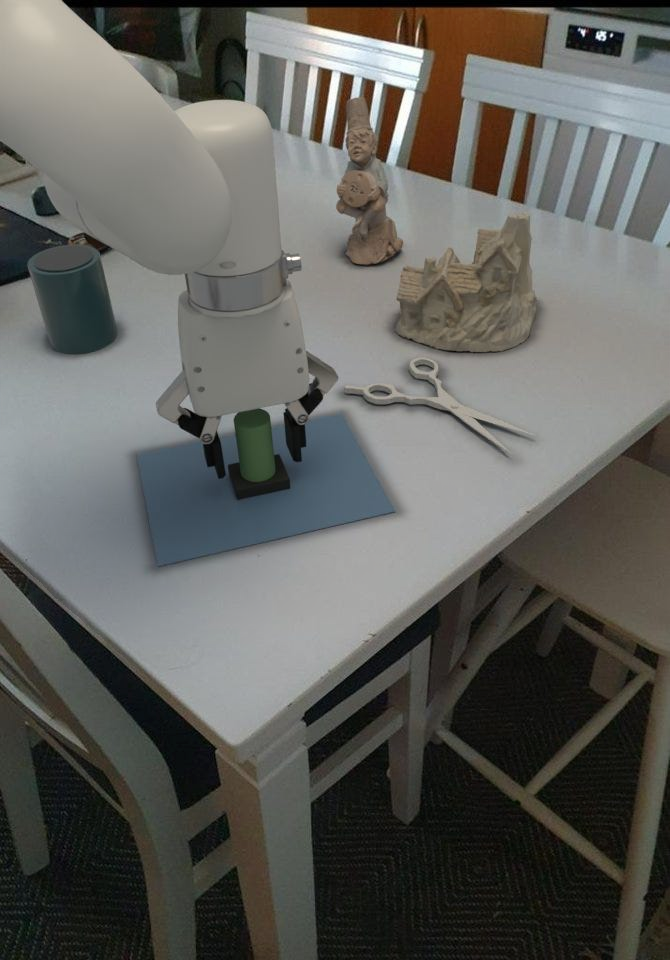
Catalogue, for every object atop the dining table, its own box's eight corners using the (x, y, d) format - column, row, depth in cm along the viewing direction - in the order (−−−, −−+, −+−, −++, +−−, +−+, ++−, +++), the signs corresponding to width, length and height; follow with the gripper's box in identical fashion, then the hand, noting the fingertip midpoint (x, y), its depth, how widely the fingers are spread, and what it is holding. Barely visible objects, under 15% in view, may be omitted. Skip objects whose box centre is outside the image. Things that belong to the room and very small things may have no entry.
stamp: (237, 500, 73) (228, 436, 69) (228, 474, 76) (219, 411, 72) (290, 488, 74) (285, 424, 70) (280, 463, 77) (274, 400, 73)
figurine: (352, 238, 118) (349, 90, 105) (408, 245, 115) (412, 94, 103) (331, 264, 111) (325, 109, 99) (390, 271, 109) (392, 114, 96)
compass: (89, 235, 122) (78, 187, 117) (126, 246, 118) (116, 197, 114) (47, 255, 117) (34, 205, 112) (85, 267, 113) (72, 216, 109)
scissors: (411, 349, 91) (560, 420, 80) (411, 355, 92) (559, 426, 80) (343, 386, 86) (492, 468, 74) (343, 392, 86) (492, 474, 75)
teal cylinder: (51, 359, 94) (27, 278, 87) (49, 327, 100) (26, 249, 93) (120, 347, 96) (102, 266, 89) (114, 316, 102) (96, 239, 95)
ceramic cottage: (550, 299, 101) (558, 179, 91) (511, 368, 90) (515, 239, 80) (432, 285, 107) (429, 171, 97) (383, 348, 96) (373, 226, 87)
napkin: (157, 567, 67) (157, 566, 67) (136, 455, 79) (136, 454, 79) (395, 512, 71) (395, 511, 71) (341, 414, 83) (341, 413, 83)
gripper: (328, 243, 67) (335, 420, 78) (117, 276, 63) (156, 457, 75) (357, 280, 61) (360, 466, 73) (126, 319, 58) (167, 507, 69)
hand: (256, 460), depth 74 cm, fingers open, 6 cm apart
